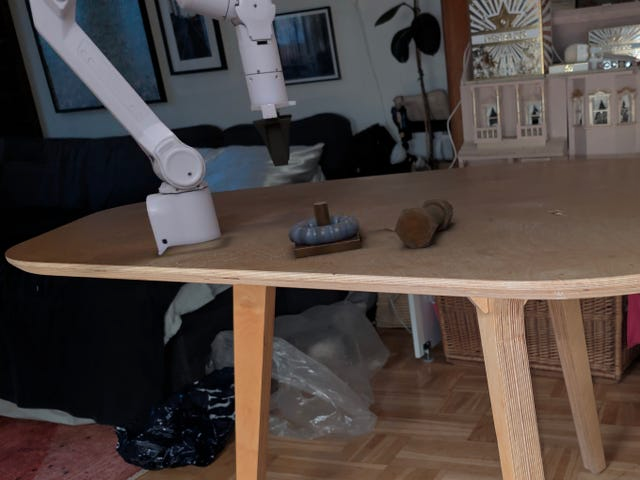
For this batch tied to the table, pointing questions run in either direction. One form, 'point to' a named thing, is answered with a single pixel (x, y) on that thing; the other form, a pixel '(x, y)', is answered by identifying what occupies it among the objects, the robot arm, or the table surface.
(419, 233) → the bolt
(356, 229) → the ring
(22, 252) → the table surface
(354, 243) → the stand
